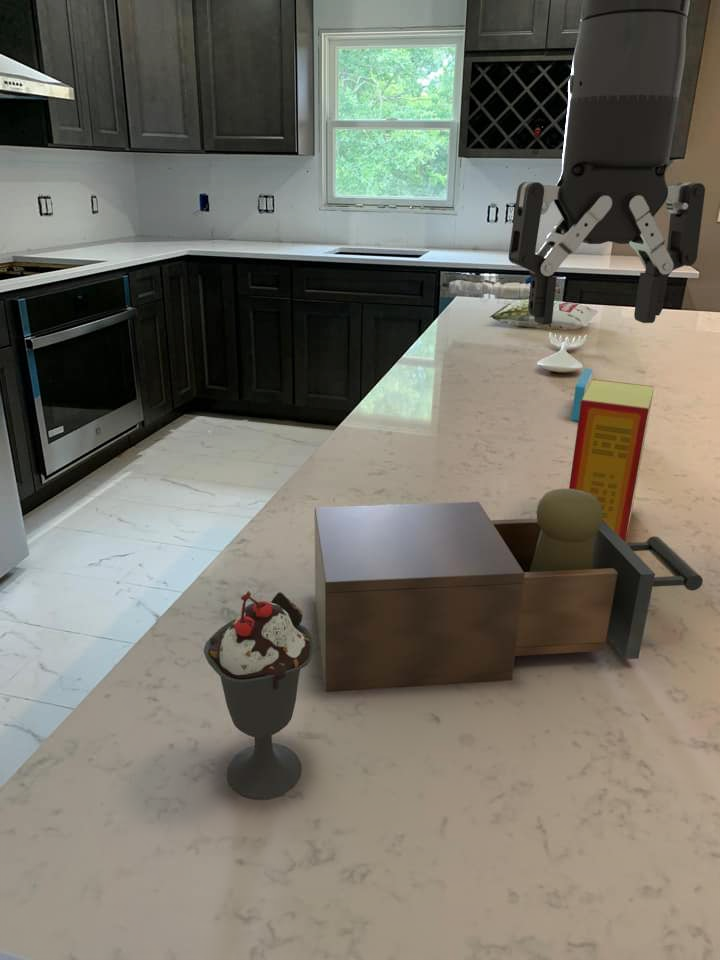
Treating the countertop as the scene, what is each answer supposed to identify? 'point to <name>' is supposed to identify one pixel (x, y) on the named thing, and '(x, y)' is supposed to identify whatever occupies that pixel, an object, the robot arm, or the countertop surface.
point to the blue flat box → (581, 392)
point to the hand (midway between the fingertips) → (593, 322)
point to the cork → (566, 530)
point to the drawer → (589, 592)
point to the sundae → (262, 690)
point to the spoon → (562, 355)
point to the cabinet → (414, 596)
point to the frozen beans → (563, 318)
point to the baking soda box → (611, 447)
